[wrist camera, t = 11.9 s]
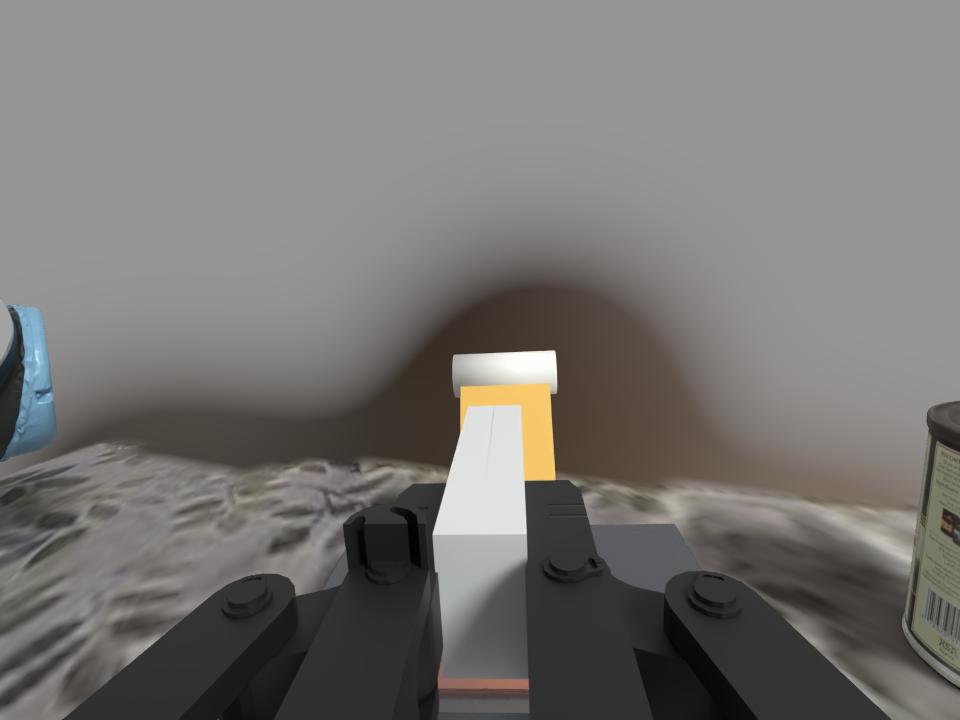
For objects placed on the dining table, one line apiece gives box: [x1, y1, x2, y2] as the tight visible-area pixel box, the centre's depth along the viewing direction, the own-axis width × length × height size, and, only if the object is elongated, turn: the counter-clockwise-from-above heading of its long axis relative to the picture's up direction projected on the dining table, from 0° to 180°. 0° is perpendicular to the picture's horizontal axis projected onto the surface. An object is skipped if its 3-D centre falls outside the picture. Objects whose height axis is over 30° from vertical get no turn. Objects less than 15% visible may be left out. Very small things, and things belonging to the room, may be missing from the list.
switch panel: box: [323, 524, 702, 720], centre depth 31 cm, size 16×24×7 cm, turn 86°
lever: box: [452, 351, 557, 481], centre depth 34 cm, size 3×7×15 cm
